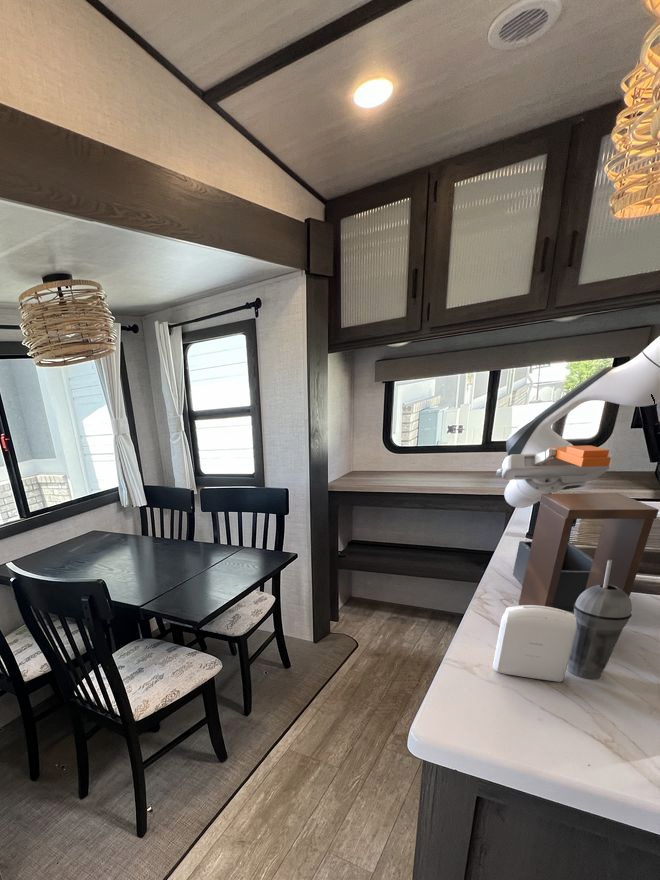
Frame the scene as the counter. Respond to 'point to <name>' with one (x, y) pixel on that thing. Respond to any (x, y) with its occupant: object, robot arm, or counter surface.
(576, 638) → the beverage cup
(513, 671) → the photo printer
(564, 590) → the trash bin
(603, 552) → the shelf stand
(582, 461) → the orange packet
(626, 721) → the counter surface
